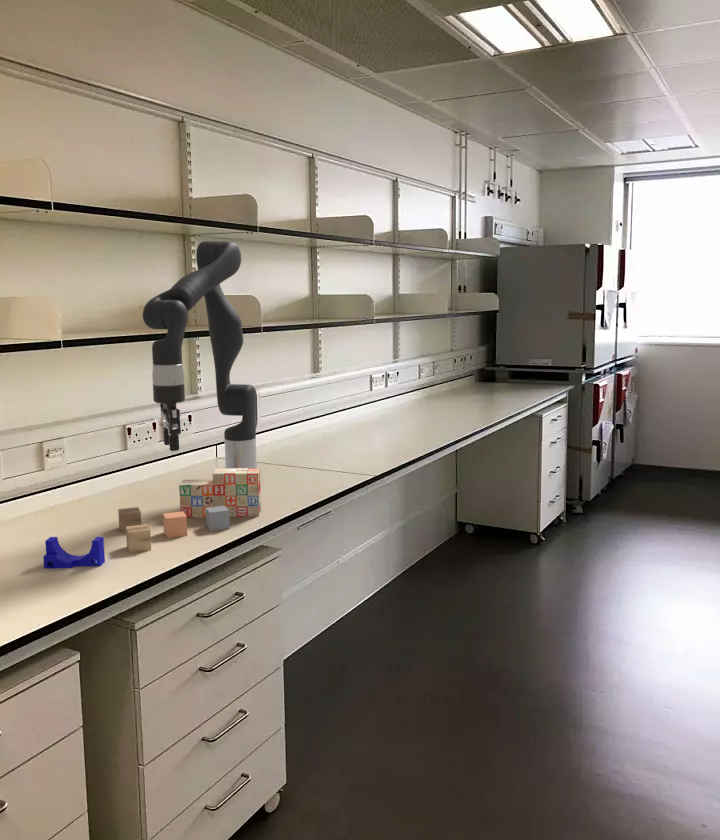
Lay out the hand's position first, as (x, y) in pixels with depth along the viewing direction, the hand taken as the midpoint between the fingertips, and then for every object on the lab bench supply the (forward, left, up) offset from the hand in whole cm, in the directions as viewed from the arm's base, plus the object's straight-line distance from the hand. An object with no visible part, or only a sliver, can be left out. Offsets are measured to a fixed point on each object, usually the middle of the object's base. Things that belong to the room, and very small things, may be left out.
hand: (171, 447), depth 196 cm
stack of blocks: (-13, +15, -22) cm, 30 cm away
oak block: (+8, -10, -22) cm, 26 cm away
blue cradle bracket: (+14, -25, -22) cm, 36 cm away
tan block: (-9, -10, -22) cm, 26 cm away
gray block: (-1, +11, -22) cm, 25 cm away
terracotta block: (0, 0, -22) cm, 22 cm away
